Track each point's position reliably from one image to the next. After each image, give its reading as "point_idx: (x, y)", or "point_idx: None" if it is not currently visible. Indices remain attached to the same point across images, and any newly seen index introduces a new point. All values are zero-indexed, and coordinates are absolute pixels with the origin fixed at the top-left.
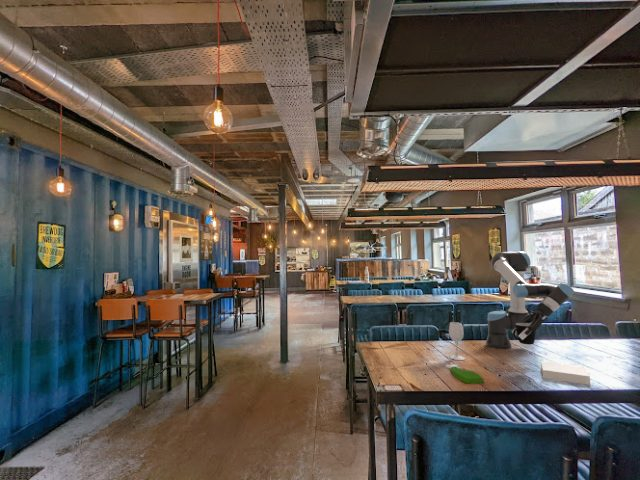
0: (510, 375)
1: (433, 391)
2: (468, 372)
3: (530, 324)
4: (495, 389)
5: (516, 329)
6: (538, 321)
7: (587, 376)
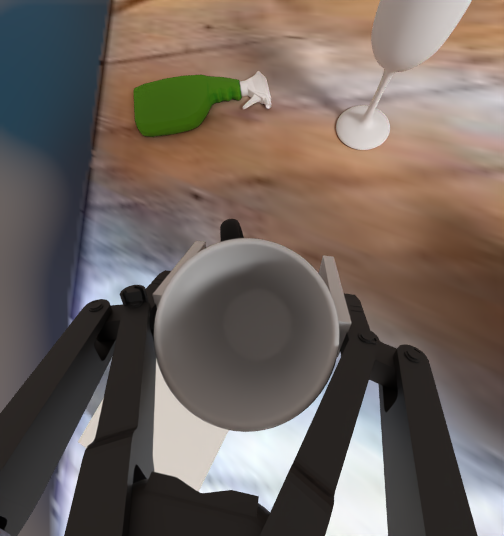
0: (193, 226)
1: (106, 31)
2: (178, 103)
3: (142, 334)
4: (102, 149)
5: (220, 231)
6: (16, 411)
7: (82, 434)
